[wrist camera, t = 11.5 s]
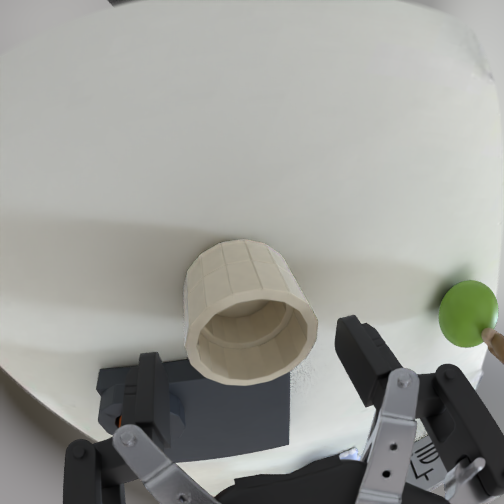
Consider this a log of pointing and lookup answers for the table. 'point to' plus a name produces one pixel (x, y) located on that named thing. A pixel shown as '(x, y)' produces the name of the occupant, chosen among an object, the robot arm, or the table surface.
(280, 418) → the scale
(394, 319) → the table surface
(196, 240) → the table surface
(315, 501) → the robot arm
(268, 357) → the beige cup
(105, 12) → the table surface
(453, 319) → the snail figurine
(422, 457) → the icon cube
